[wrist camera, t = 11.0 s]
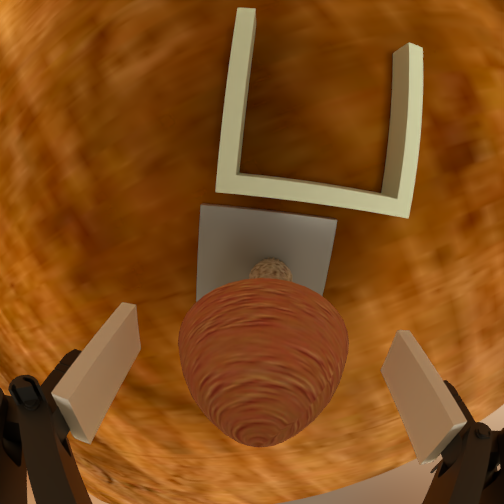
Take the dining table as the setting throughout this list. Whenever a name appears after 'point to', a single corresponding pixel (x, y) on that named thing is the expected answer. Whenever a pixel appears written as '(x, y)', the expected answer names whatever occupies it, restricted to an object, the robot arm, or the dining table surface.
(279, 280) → the mushroom
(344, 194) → the cream u-shaped piece
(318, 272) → the coaster
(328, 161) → the dining table surface
